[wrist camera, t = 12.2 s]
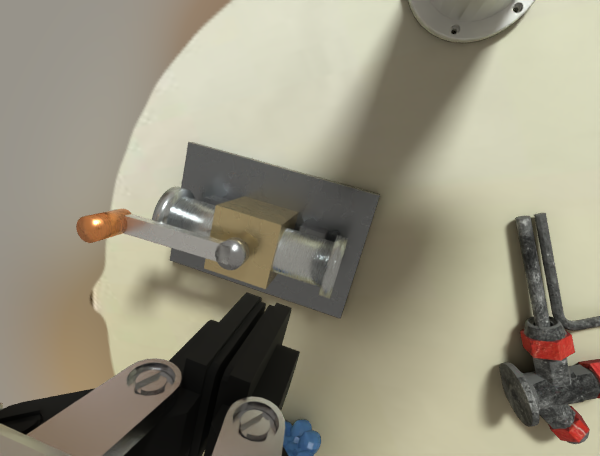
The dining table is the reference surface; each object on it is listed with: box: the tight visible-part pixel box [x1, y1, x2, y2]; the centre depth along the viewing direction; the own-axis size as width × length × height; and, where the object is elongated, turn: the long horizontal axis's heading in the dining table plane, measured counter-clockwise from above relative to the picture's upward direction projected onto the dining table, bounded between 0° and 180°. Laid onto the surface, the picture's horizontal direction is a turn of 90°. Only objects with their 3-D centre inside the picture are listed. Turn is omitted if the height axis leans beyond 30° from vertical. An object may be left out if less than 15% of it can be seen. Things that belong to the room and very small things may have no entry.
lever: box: [76, 209, 249, 270], centre depth 30 cm, size 15×3×5 cm, turn 77°
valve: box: [499, 213, 600, 444], centre depth 35 cm, size 6×26×15 cm
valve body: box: [152, 142, 380, 318], centre depth 37 cm, size 16×24×10 cm, turn 75°
